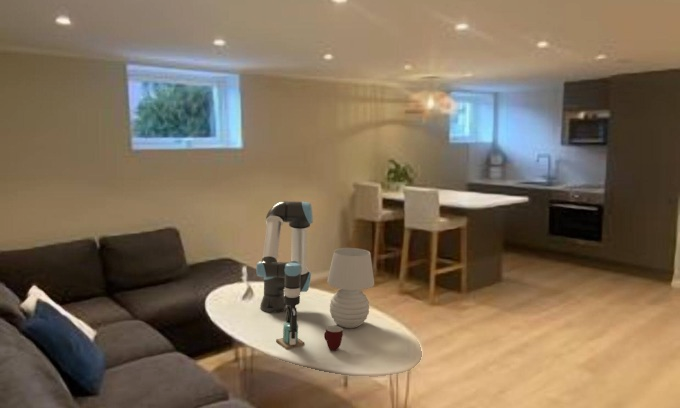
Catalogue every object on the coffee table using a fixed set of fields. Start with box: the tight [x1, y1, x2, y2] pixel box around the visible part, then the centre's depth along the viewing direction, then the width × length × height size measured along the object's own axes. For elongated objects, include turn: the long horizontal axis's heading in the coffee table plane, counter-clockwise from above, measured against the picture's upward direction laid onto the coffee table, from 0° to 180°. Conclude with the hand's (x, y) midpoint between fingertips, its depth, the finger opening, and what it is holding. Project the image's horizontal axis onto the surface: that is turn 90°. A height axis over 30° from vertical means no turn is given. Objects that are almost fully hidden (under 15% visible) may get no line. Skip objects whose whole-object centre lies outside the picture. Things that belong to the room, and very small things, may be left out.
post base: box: [275, 337, 305, 350], centre depth 249 cm, size 10×10×7 cm
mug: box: [323, 325, 344, 352], centre depth 245 cm, size 11×8×10 cm
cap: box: [282, 322, 299, 344], centre depth 248 cm, size 7×7×8 cm
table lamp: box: [326, 247, 375, 329], centre depth 275 cm, size 25×25×40 cm
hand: (290, 340), depth 249 cm, fingers open, 9 cm apart
